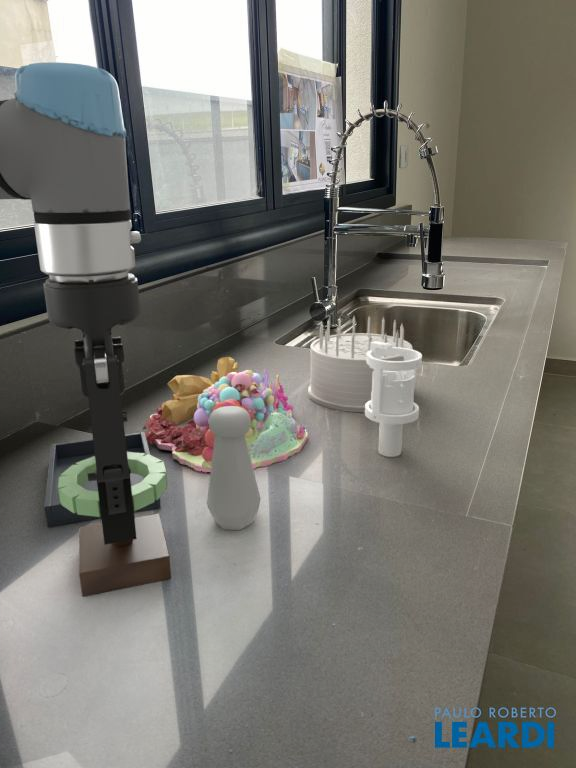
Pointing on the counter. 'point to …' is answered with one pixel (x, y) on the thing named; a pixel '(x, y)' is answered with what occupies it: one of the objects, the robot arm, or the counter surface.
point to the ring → (87, 500)
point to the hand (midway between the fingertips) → (117, 510)
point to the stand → (123, 557)
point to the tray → (70, 455)
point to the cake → (347, 366)
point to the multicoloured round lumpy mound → (226, 388)
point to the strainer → (392, 394)
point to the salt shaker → (232, 470)
